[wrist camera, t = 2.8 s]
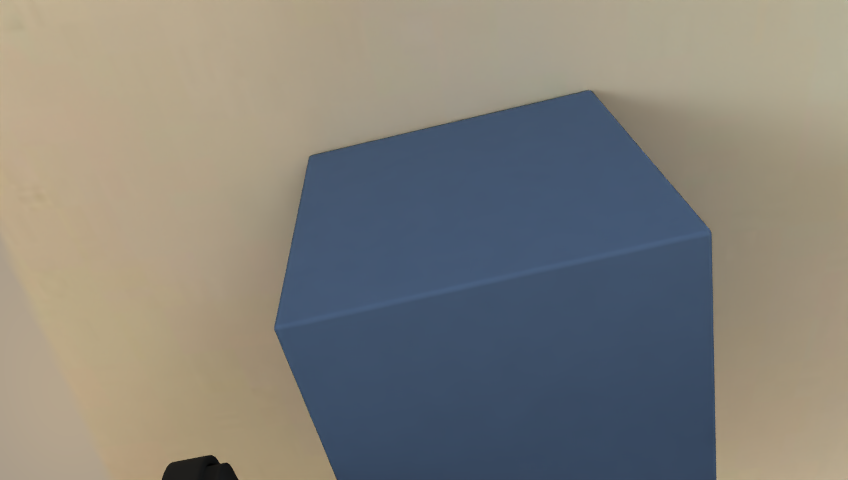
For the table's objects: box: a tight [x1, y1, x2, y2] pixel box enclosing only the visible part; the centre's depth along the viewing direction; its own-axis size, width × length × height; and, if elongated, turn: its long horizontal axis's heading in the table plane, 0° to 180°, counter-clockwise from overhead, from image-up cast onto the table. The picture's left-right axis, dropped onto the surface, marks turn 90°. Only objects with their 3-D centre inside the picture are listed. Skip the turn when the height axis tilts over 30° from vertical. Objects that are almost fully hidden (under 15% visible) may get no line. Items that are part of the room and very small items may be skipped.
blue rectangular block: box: [274, 90, 716, 480], centre depth 12 cm, size 5×7×5 cm
